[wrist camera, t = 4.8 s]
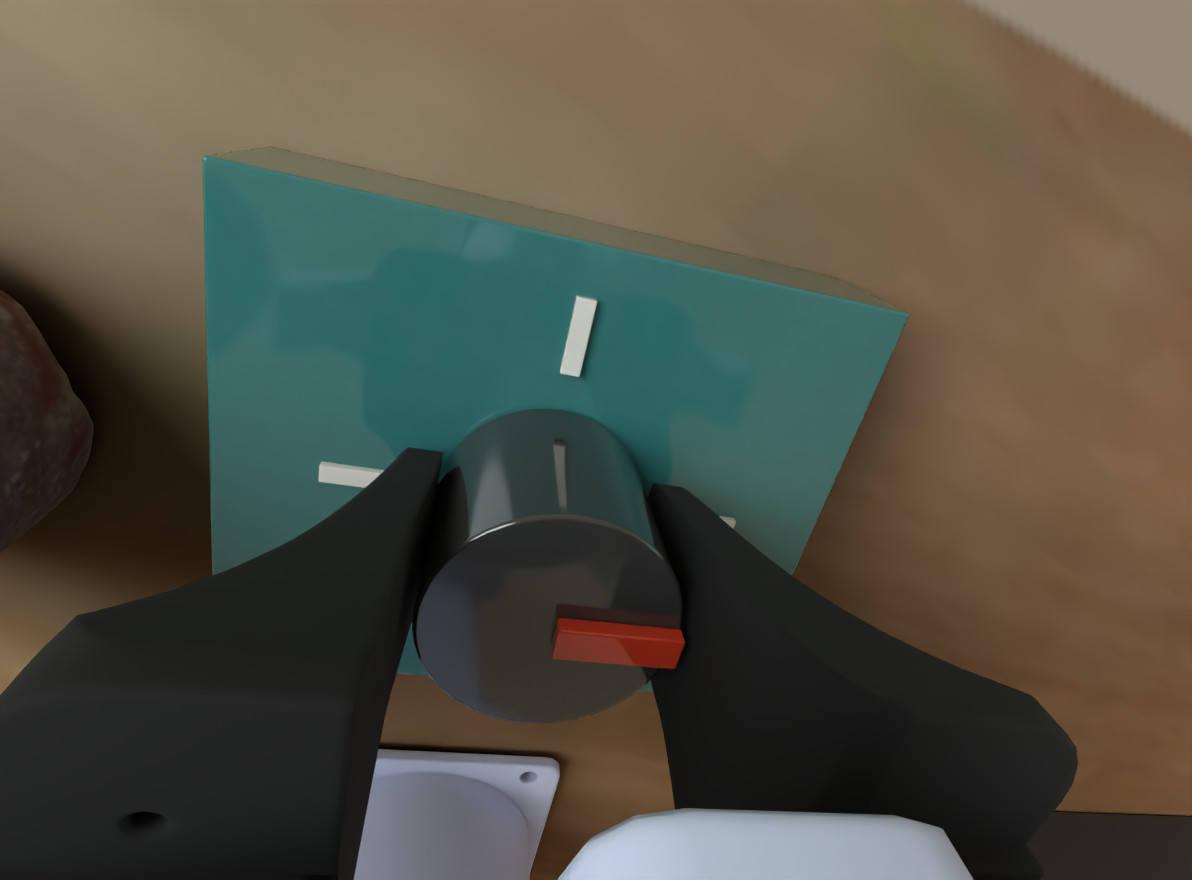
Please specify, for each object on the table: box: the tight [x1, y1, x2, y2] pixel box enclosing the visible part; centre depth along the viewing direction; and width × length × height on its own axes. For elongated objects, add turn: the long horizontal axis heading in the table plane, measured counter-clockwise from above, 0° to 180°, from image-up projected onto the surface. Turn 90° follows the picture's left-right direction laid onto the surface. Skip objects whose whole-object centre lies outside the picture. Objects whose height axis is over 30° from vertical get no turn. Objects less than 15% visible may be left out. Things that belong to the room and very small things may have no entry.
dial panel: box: [202, 147, 909, 692], centre depth 14 cm, size 12×10×3 cm
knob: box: [412, 409, 685, 723], centre depth 11 cm, size 4×4×4 cm
